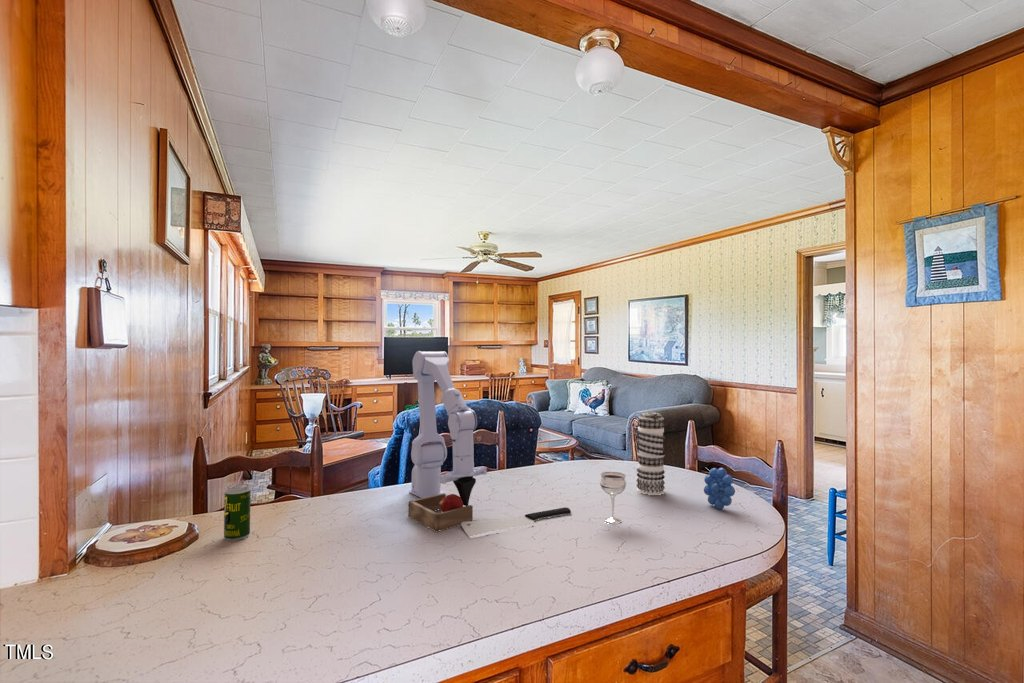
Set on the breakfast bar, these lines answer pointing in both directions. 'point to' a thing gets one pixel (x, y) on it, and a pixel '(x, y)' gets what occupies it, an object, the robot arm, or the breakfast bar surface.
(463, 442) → the robot arm
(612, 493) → the wineglass
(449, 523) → the box
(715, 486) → the grapes
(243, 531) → the green fruit can
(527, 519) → the kitchen cleaver
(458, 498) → the onion
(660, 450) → the striped tall cylinder
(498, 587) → the breakfast bar surface
